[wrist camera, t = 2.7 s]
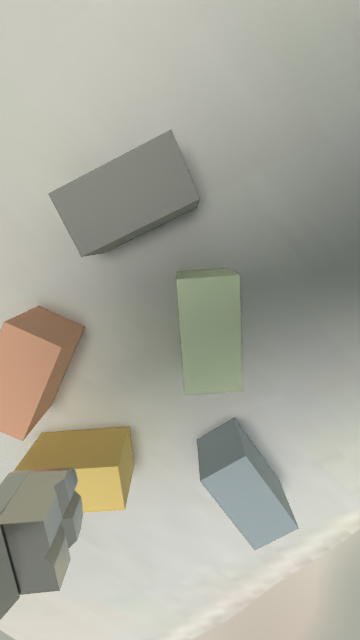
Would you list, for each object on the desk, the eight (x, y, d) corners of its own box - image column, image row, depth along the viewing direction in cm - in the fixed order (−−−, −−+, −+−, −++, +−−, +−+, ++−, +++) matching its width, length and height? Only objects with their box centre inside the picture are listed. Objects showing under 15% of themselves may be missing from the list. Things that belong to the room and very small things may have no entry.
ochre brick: (129, 425, 24) (117, 466, 20) (134, 463, 25) (124, 510, 21) (42, 431, 25) (12, 473, 20) (50, 468, 25) (23, 516, 21)
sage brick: (177, 271, 21) (175, 279, 17) (227, 267, 21) (239, 274, 17) (184, 365, 23) (184, 394, 19) (231, 362, 23) (242, 391, 19)
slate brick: (197, 438, 25) (200, 481, 20) (234, 416, 24) (245, 455, 20) (242, 498, 26) (254, 550, 22) (278, 479, 25) (298, 528, 21)
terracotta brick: (39, 305, 22) (4, 321, 18) (85, 326, 22) (61, 347, 18) (8, 386, 24) (-31, 419, 19) (51, 404, 24) (22, 440, 20)
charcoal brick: (173, 154, 19) (171, 129, 15) (196, 207, 20) (200, 198, 16) (77, 203, 20) (48, 193, 16) (102, 253, 21) (81, 256, 17)
